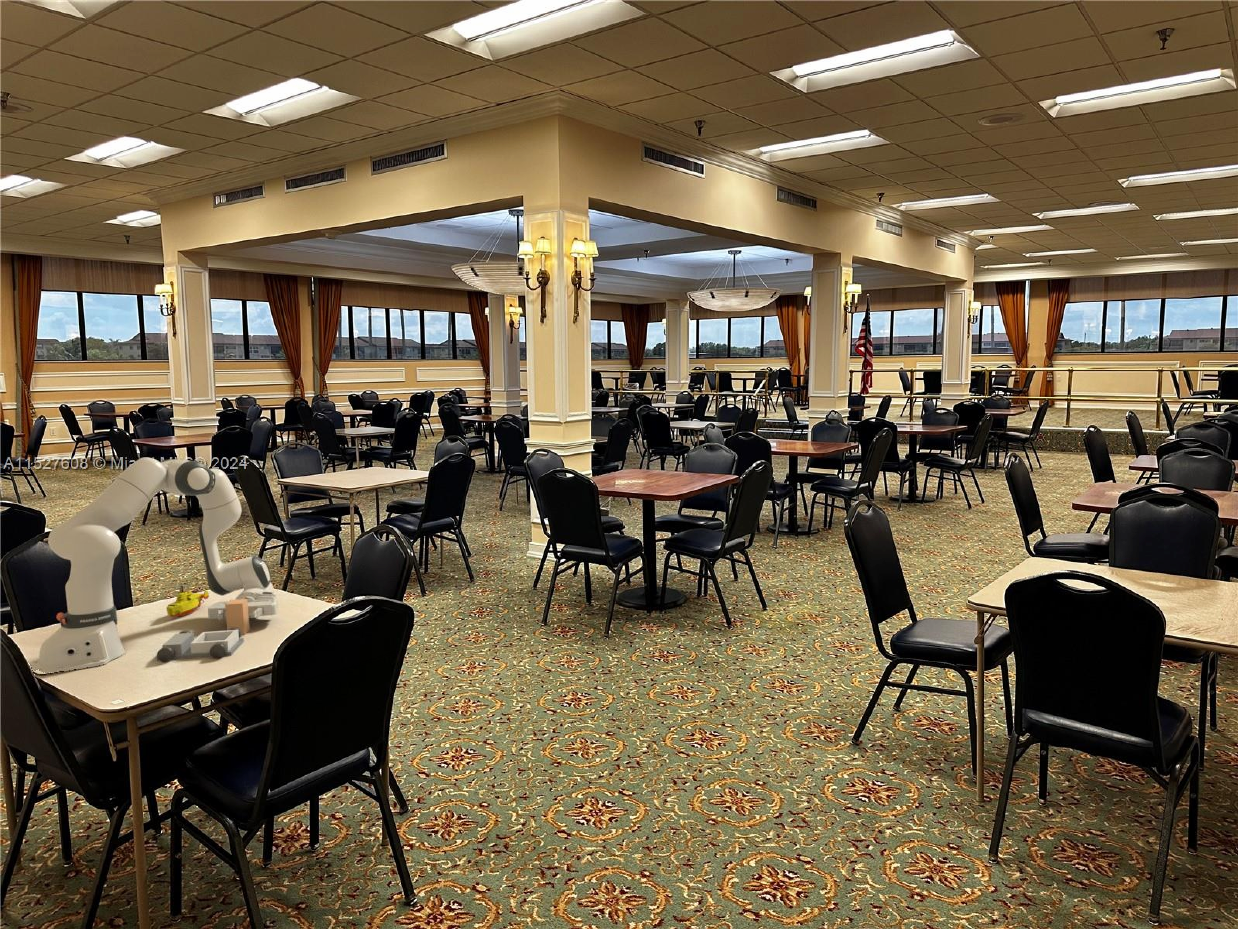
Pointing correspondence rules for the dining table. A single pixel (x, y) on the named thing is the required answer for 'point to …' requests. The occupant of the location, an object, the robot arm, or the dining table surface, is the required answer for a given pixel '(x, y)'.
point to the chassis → (201, 645)
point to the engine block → (237, 615)
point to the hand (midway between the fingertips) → (236, 616)
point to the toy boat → (186, 603)
